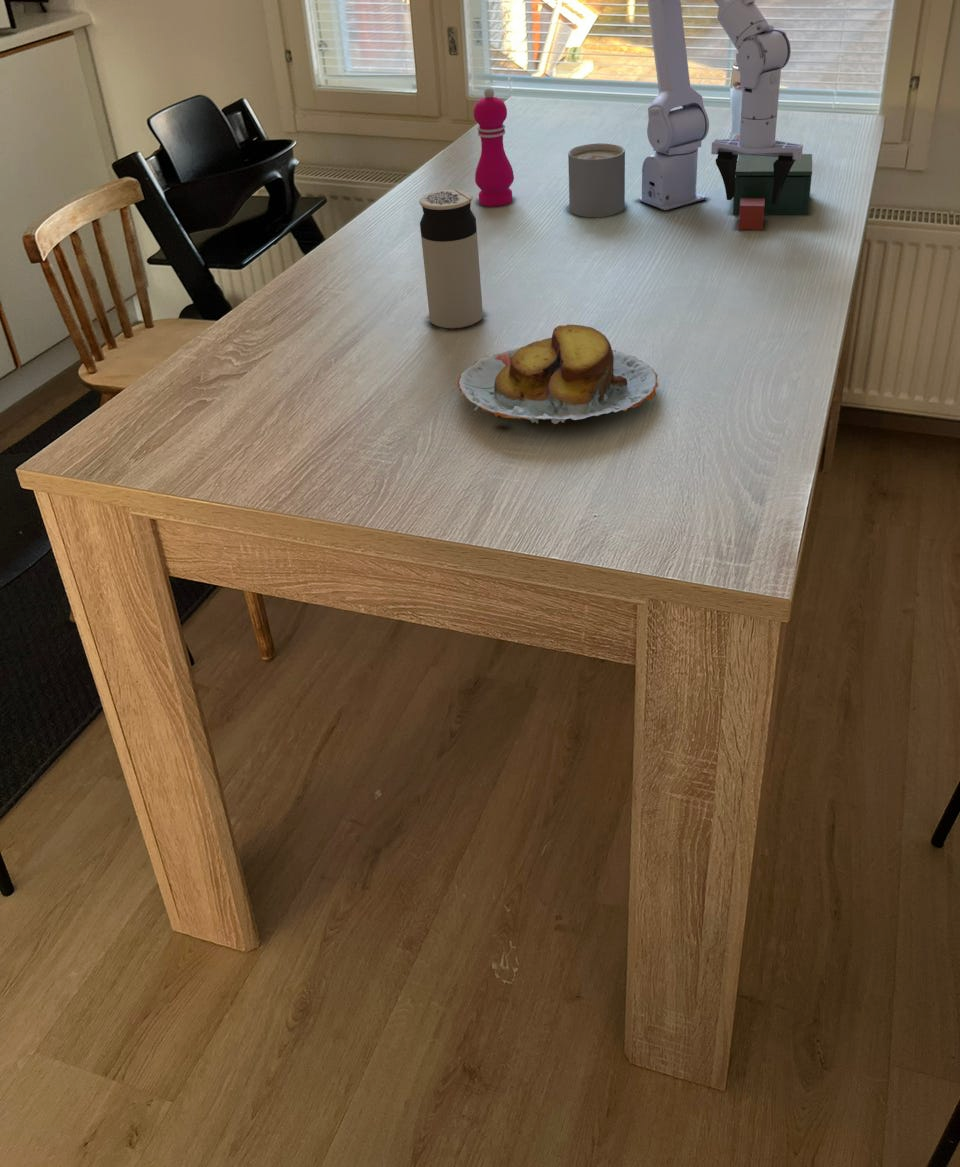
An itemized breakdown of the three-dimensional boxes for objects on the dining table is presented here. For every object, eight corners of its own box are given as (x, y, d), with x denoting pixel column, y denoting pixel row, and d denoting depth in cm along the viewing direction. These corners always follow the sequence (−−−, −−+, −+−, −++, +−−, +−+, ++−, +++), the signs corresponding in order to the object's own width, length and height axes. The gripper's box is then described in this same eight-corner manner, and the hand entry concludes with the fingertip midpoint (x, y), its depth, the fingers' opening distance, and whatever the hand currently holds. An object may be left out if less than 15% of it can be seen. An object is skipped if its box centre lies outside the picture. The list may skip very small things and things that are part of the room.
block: (762, 229, 189) (764, 205, 186) (738, 229, 190) (739, 205, 187) (763, 221, 192) (765, 198, 189) (739, 221, 193) (740, 198, 190)
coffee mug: (617, 218, 198) (617, 160, 192) (563, 216, 201) (561, 158, 195) (633, 194, 208) (634, 138, 202) (581, 192, 211) (580, 137, 205)
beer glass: (764, 147, 226) (770, 67, 217) (729, 149, 226) (734, 70, 218) (758, 137, 232) (764, 59, 223) (724, 140, 232) (728, 62, 223)
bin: (807, 214, 193) (811, 176, 189) (732, 214, 196) (735, 176, 192) (807, 194, 201) (811, 158, 197) (736, 194, 204) (738, 158, 200)
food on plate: (422, 395, 148) (417, 349, 144) (564, 338, 160) (563, 294, 156) (549, 464, 131) (547, 414, 127) (697, 394, 143) (699, 346, 139)
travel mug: (437, 333, 164) (424, 210, 153) (424, 313, 170) (411, 194, 159) (489, 324, 165) (480, 201, 154) (475, 304, 171) (465, 185, 161)
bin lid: (811, 175, 189) (812, 171, 188) (735, 175, 191) (735, 171, 191) (811, 158, 197) (812, 153, 197) (738, 158, 200) (738, 154, 200)
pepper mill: (516, 194, 213) (510, 82, 201) (513, 206, 207) (507, 91, 195) (478, 196, 214) (470, 84, 202) (474, 208, 208) (466, 94, 196)
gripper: (810, 110, 180) (802, 196, 188) (722, 106, 186) (718, 189, 194) (799, 122, 175) (791, 209, 183) (709, 117, 181) (705, 202, 189)
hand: (752, 200), depth 188 cm, fingers open, 7 cm apart
